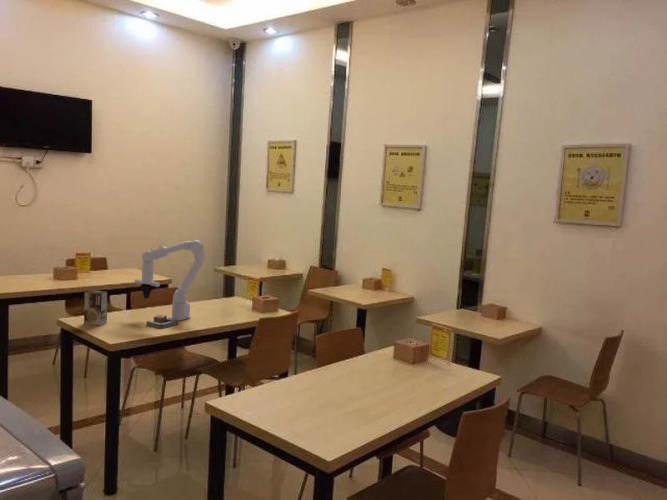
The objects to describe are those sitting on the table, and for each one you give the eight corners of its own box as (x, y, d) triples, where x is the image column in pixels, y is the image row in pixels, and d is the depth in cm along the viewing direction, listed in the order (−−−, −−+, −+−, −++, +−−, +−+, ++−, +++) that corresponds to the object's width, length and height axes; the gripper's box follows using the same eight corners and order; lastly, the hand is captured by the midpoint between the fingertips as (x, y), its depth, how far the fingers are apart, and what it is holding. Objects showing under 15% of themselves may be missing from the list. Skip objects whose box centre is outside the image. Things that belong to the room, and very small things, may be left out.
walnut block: (157, 322, 285) (157, 314, 285) (166, 323, 285) (166, 315, 285) (153, 324, 280) (153, 316, 280) (162, 325, 280) (163, 317, 280)
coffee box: (107, 322, 275) (108, 291, 274) (100, 325, 269) (102, 293, 267) (90, 320, 276) (91, 289, 274) (83, 323, 270) (84, 291, 268)
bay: (162, 320, 288) (162, 317, 288) (177, 324, 284) (177, 320, 284) (146, 325, 277) (146, 321, 277) (161, 328, 273) (161, 324, 273)
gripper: (163, 274, 292) (162, 298, 293) (141, 270, 296) (140, 295, 298) (155, 275, 285) (154, 300, 287) (132, 272, 290) (131, 297, 291)
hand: (146, 298), depth 292 cm, fingers closed
